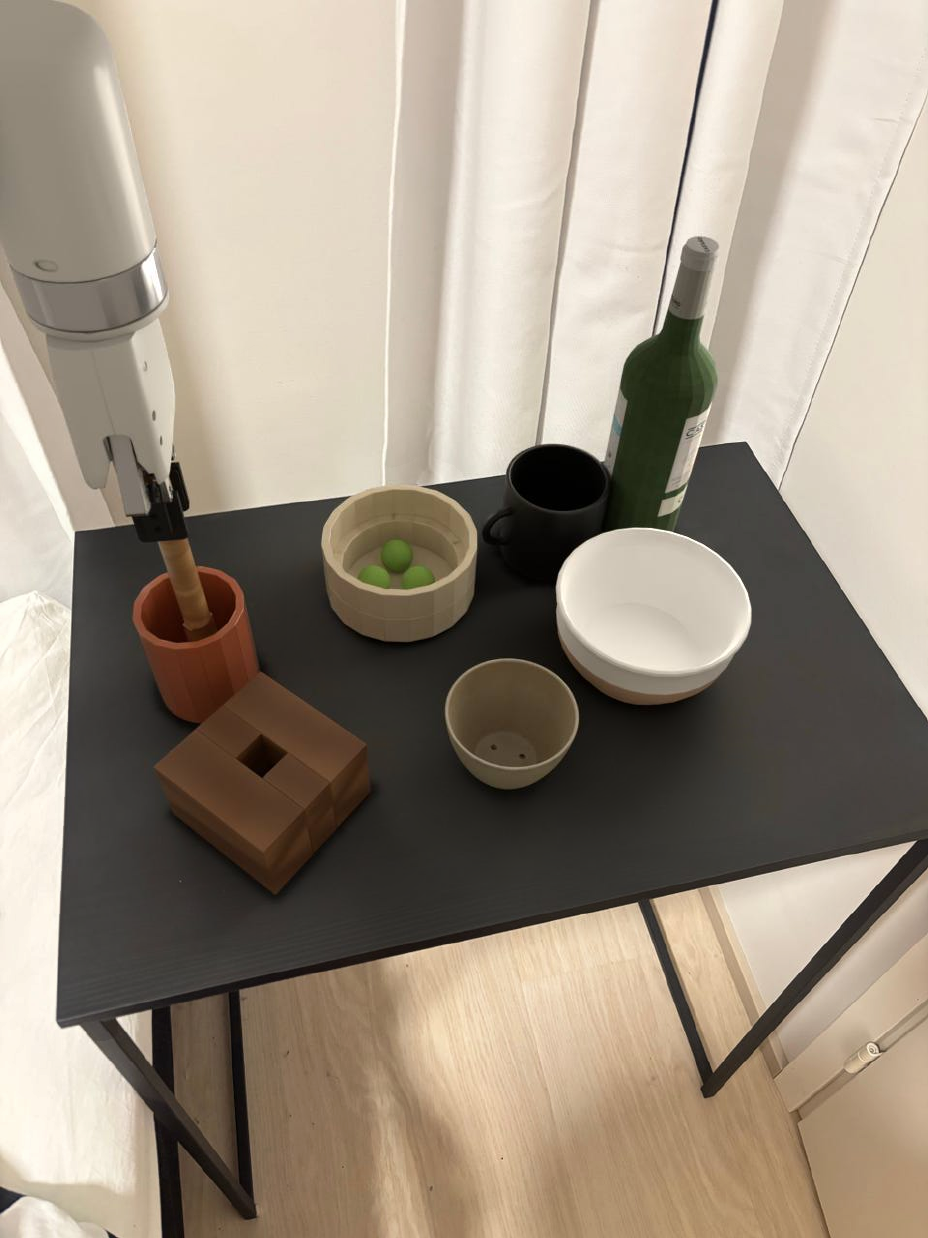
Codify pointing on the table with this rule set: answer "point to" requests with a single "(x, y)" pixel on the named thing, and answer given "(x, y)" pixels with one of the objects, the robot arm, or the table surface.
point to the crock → (196, 645)
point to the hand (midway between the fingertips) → (165, 522)
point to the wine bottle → (663, 405)
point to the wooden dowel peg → (187, 586)
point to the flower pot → (510, 721)
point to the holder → (266, 780)
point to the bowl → (650, 614)
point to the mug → (549, 508)
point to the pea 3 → (417, 577)
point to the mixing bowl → (436, 543)
